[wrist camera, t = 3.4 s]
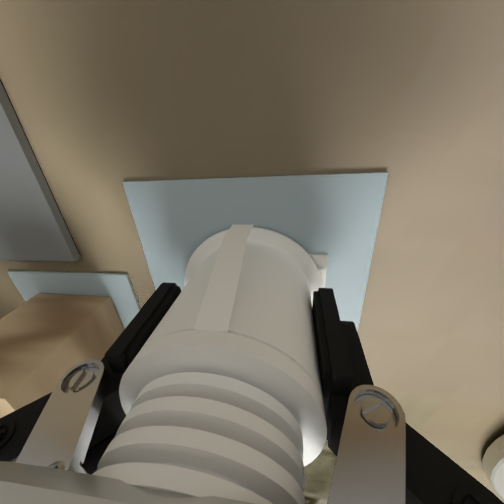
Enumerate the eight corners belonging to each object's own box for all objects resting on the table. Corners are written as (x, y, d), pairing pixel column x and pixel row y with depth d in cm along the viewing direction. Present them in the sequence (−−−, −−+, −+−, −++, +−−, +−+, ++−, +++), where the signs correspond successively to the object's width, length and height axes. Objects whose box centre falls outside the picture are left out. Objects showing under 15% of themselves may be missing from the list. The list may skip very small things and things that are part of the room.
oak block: (110, 296, 14) (4, 399, 9) (134, 354, 17) (62, 462, 11) (37, 293, 15) (-98, 385, 10) (71, 349, 17) (-24, 447, 12)
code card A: (381, 169, 10) (388, 173, 9) (348, 355, 15) (350, 367, 14) (132, 178, 11) (121, 182, 11) (179, 342, 17) (174, 353, 16)
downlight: (317, 349, 14) (364, 744, 5) (199, 341, 15) (61, 650, 6) (328, 213, 10) (560, 704, 1) (174, 215, 11) (-242, 499, 3)
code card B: (134, 267, 14) (125, 276, 13) (166, 360, 18) (160, 370, 17) (19, 264, 15) (4, 272, 15) (71, 351, 19) (62, 361, 18)
